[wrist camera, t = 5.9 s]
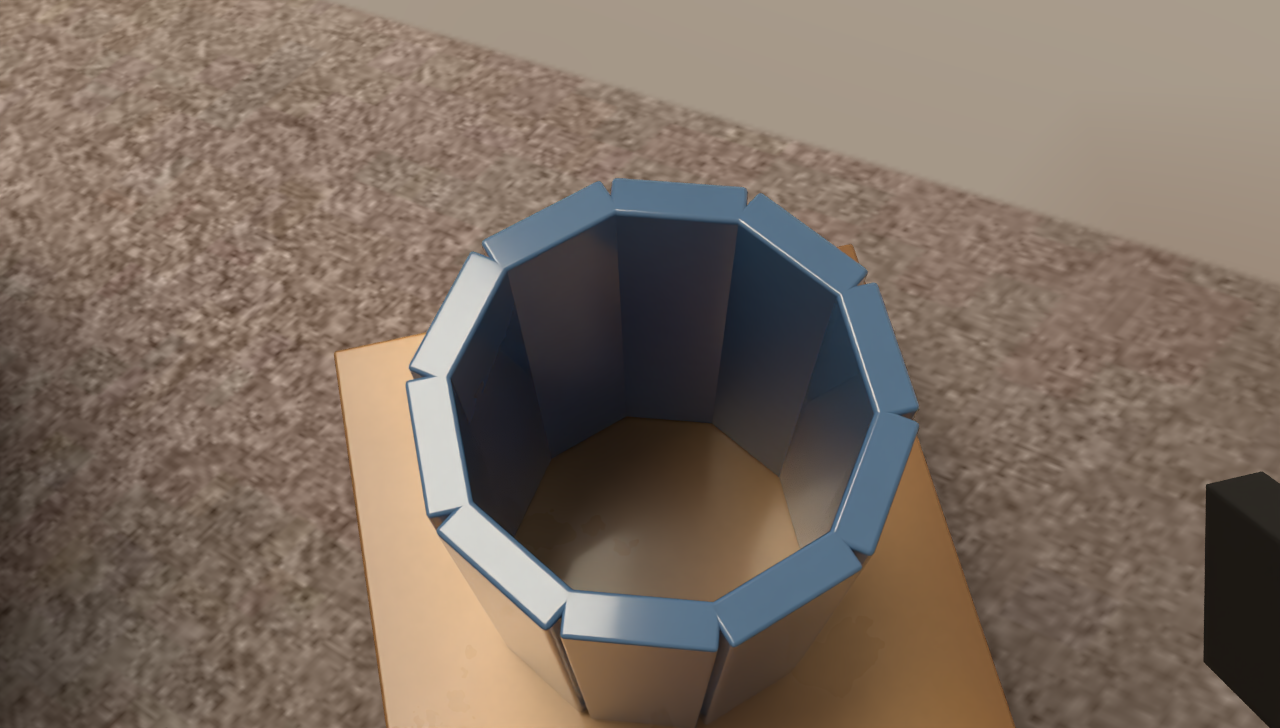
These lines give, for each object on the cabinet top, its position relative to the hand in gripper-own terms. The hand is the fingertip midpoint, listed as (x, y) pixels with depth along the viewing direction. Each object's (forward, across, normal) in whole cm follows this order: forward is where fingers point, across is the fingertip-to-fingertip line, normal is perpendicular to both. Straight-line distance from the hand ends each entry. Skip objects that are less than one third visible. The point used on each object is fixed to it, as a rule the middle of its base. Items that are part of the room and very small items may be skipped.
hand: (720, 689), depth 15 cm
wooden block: (+10, 0, -5) cm, 12 cm away
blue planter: (+8, 0, -2) cm, 8 cm away
